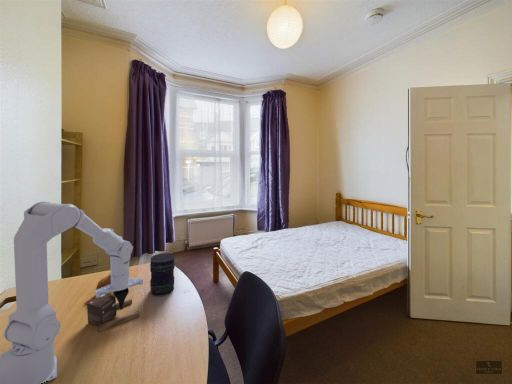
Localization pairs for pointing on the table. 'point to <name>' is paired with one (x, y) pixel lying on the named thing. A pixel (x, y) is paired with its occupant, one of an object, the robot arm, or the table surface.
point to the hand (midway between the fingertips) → (120, 308)
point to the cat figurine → (102, 285)
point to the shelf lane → (119, 320)
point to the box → (101, 309)
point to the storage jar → (162, 274)
